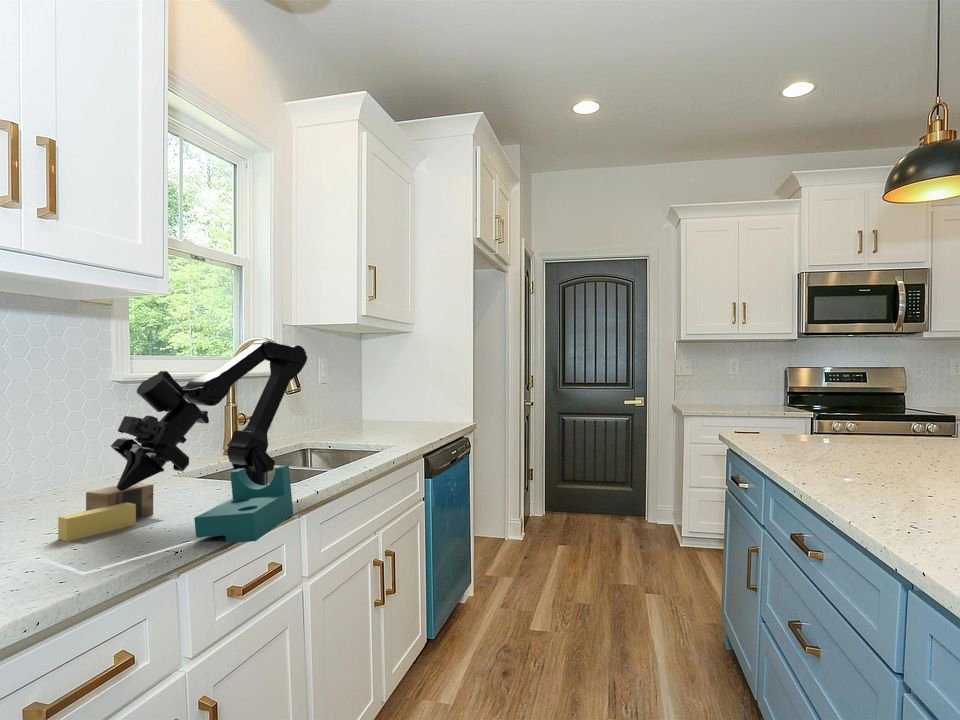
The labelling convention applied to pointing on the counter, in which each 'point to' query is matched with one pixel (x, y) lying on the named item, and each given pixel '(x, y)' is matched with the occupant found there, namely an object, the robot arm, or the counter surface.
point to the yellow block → (96, 521)
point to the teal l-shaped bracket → (249, 508)
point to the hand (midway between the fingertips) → (119, 489)
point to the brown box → (123, 498)
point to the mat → (116, 531)
